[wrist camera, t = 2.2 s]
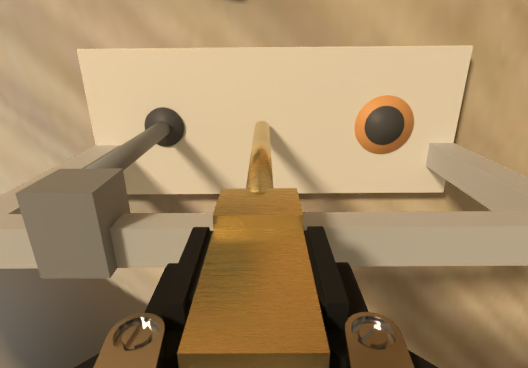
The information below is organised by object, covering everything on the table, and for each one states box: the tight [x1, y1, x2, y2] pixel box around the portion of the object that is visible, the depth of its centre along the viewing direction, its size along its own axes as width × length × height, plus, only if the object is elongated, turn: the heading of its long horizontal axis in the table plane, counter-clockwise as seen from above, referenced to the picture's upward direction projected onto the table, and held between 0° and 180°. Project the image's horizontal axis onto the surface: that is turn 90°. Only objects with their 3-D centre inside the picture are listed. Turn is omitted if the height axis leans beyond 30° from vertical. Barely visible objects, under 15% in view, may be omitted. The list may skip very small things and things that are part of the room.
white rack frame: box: [0, 46, 528, 278], centre depth 21 cm, size 12×30×17 cm, turn 90°
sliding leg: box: [177, 121, 330, 368], centre depth 17 cm, size 4×3×22 cm
